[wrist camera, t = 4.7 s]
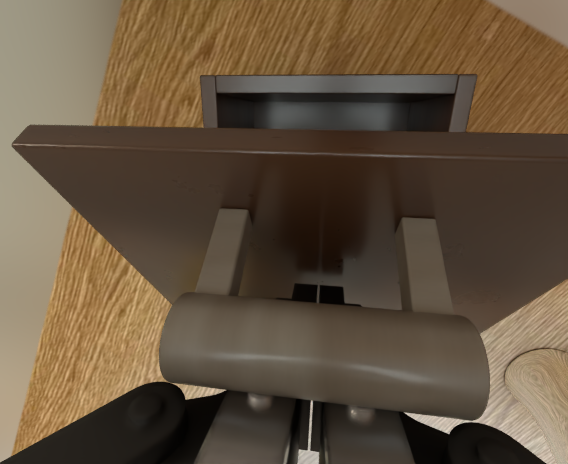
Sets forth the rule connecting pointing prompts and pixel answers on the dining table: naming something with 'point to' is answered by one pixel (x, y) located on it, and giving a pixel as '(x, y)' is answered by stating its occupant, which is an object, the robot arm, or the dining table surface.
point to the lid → (324, 250)
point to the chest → (339, 102)
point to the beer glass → (544, 394)
